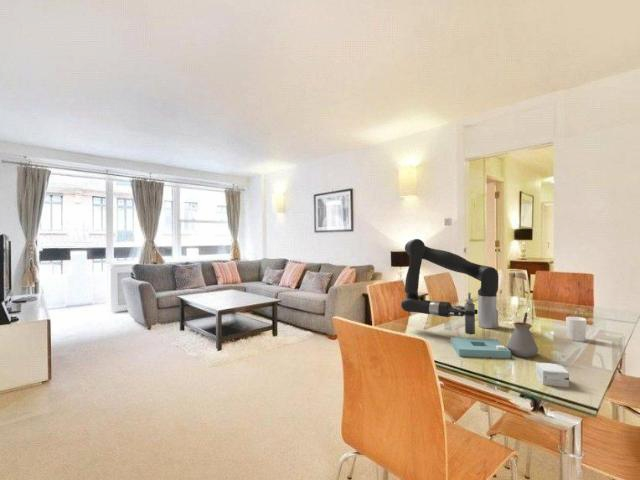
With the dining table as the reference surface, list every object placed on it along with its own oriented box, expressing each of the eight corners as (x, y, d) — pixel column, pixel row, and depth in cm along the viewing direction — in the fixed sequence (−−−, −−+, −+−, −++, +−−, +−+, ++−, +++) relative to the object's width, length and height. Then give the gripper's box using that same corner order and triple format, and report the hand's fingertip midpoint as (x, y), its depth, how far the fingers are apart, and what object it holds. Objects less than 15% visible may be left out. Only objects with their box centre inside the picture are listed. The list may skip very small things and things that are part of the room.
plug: (473, 331, 164) (472, 292, 163) (476, 334, 159) (475, 293, 159) (464, 331, 164) (463, 292, 164) (466, 334, 160) (465, 293, 160)
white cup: (582, 337, 163) (582, 317, 163) (589, 342, 155) (589, 321, 155) (563, 336, 165) (563, 316, 165) (569, 341, 158) (569, 320, 158)
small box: (542, 385, 114) (542, 370, 113) (535, 375, 121) (535, 361, 121) (569, 388, 111) (569, 372, 111) (560, 378, 119) (560, 363, 119)
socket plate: (496, 345, 153) (496, 336, 153) (510, 358, 138) (510, 348, 138) (450, 343, 157) (450, 335, 157) (459, 356, 141) (459, 346, 141)
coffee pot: (537, 361, 134) (536, 324, 134) (504, 355, 141) (504, 320, 141) (541, 346, 151) (541, 313, 151) (512, 342, 158) (512, 310, 158)
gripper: (434, 303, 165) (471, 308, 154) (444, 299, 176) (479, 302, 165) (435, 319, 165) (471, 324, 155) (445, 313, 176) (480, 317, 166)
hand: (475, 313), depth 160 cm, fingers closed on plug, 4 cm apart
